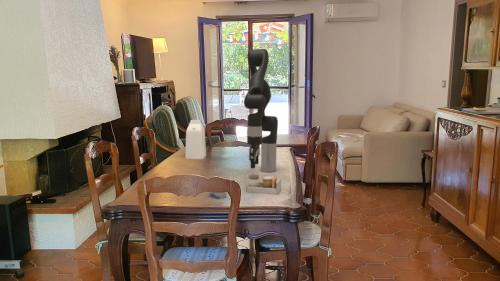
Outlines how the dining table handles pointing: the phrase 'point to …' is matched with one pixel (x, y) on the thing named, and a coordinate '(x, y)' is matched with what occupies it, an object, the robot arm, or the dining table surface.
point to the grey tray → (266, 190)
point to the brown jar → (267, 182)
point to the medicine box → (219, 195)
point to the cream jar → (253, 180)
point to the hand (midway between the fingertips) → (254, 166)
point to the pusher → (274, 182)
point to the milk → (195, 141)
